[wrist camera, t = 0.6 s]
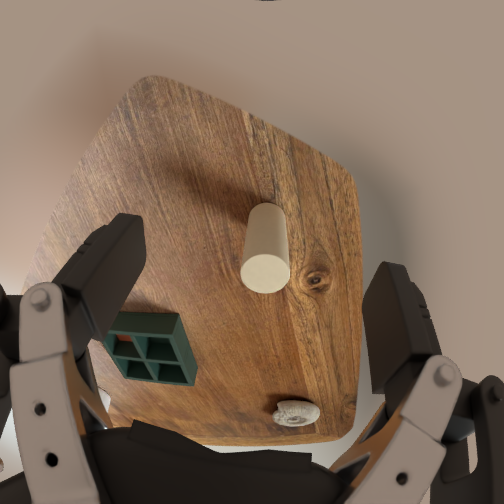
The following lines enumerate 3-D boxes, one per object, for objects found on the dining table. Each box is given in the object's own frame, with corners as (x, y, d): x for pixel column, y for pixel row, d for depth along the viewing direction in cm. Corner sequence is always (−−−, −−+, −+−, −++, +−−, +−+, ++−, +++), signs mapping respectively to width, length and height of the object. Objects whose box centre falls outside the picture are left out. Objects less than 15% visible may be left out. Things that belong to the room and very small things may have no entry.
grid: (103, 310, 43) (93, 328, 39) (179, 313, 41) (172, 334, 38) (131, 361, 50) (124, 378, 46) (198, 367, 48) (193, 386, 45)
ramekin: (92, 398, 63) (87, 411, 59) (75, 379, 58) (69, 392, 55) (118, 403, 62) (113, 417, 58) (101, 384, 57) (96, 399, 54)
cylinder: (247, 203, 32) (237, 255, 23) (284, 201, 31) (289, 253, 23) (250, 235, 34) (242, 294, 25) (285, 234, 33) (289, 292, 25)
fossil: (265, 416, 50) (317, 404, 49) (264, 400, 53) (313, 388, 52) (279, 435, 55) (323, 425, 54) (277, 422, 59) (320, 412, 57)
